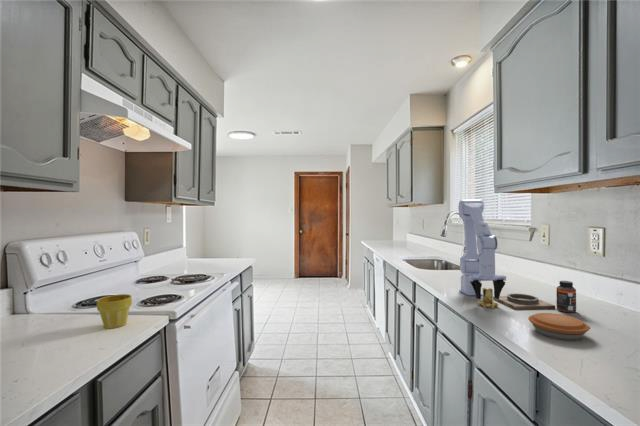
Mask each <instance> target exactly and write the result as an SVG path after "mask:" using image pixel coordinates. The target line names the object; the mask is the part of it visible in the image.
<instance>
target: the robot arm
mask: <svg viewBox="0 0 640 426" xmlns="http://www.w3.org/2000/svg"><path fill="white" fill-rule="evenodd" d="M484 208H485V203H484V201H483V200H482V199H460V200H459V202H458V215H459V218H460V219H461V220H462V221H463V231H464V245H465V253H464V254H463V255H462V256H461V257H460V259H459V271H460V272H461V276H460V289H459V290H458V291H459V292H461V293H463V294H465V295H467V296H475V298H476V299H477V300H482V299H481V298H482V296H483V291H482V286H483V285H482V284H483V283H482V282H489V281H492V285H493V296H494V297H495V298H497V299H499V297H500V296H501V293H502V290H503V288H504V286H505V285H506V281H507V275H504V274H496V250H497V248H498V246H499V245H498V239H497V236H496V235H494V234H493V233H492V231H491V229H490V226H489V224H488V223H487V222H486V221H485V220H484V216H483V212H484V210H485V209H484Z"/></svg>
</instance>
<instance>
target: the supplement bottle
mask: <svg viewBox="0 0 640 426" xmlns="http://www.w3.org/2000/svg"><path fill="white" fill-rule="evenodd" d="M558 284H559V285H558V286H557V287H556V291H555V292H556V310H558V311H559V312H562V313H568V314H572V313H573V314H574V313H576V312H577V289H576V288H575V287H574V286H573V285H574V283H573V281H569V280H559V283H558Z"/></svg>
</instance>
